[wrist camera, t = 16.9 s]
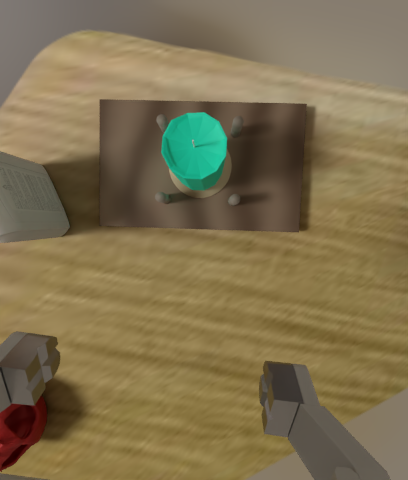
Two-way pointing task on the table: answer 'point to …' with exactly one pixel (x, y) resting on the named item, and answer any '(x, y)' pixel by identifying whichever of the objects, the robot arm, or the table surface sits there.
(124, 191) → the candle stand
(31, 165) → the photo printer
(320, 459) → the robot arm
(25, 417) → the pomegranate
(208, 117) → the candle
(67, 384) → the table surface
